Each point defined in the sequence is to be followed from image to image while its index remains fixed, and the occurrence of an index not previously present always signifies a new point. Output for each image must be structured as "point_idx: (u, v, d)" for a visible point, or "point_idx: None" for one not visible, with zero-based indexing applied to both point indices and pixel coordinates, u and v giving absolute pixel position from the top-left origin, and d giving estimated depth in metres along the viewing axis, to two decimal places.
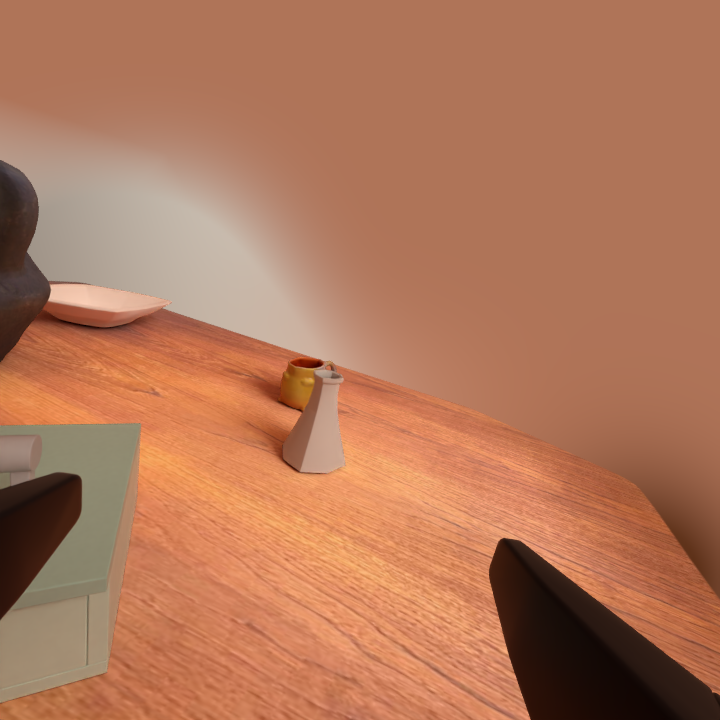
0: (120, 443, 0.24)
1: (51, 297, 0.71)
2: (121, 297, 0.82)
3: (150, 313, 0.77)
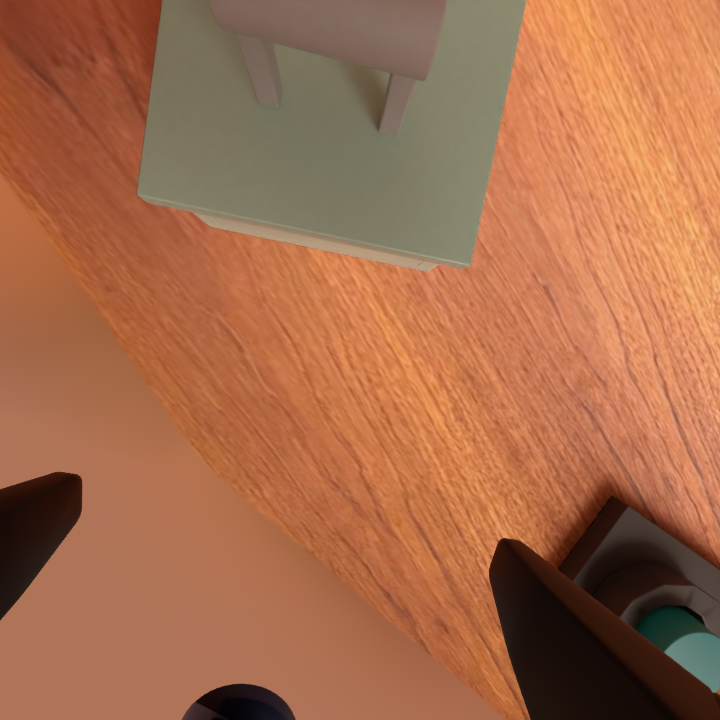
0: None
1: None
2: None
3: None
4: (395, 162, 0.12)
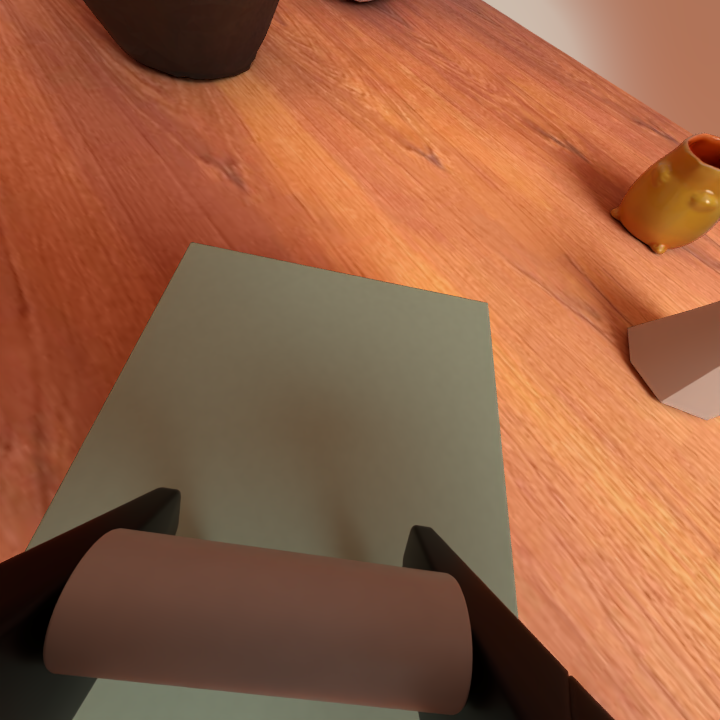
0: (468, 364, 0.12)
1: None
2: None
3: None
4: None
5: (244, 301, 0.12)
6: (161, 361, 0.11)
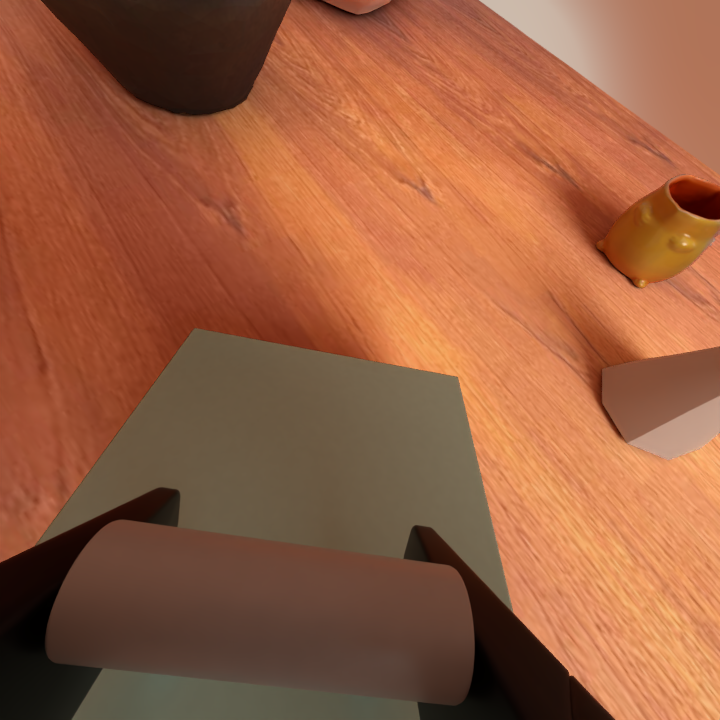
0: (446, 426, 0.13)
1: None
2: None
3: None
4: None
5: (239, 374, 0.13)
6: (158, 424, 0.11)
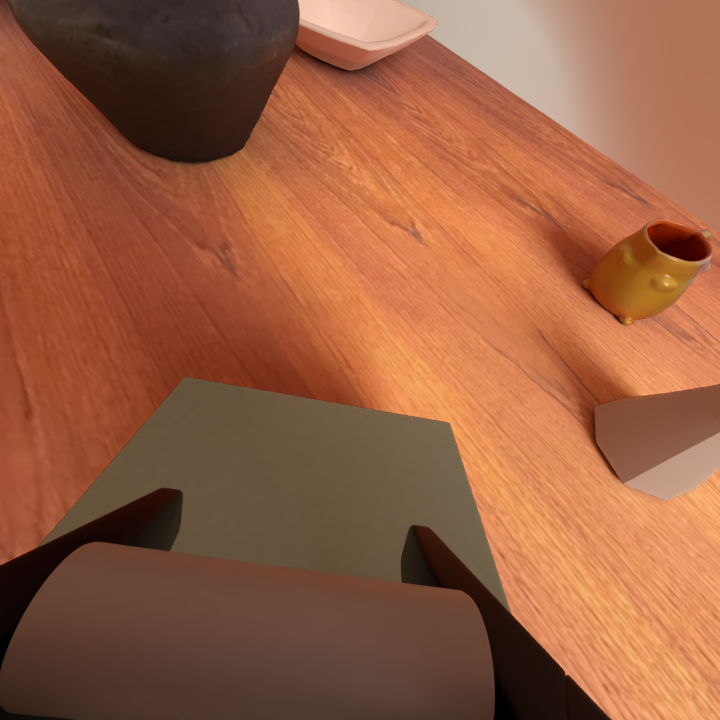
0: (442, 471, 0.13)
1: None
2: (370, 5, 0.54)
3: (406, 46, 0.51)
4: None
5: (229, 420, 0.13)
6: (140, 470, 0.10)
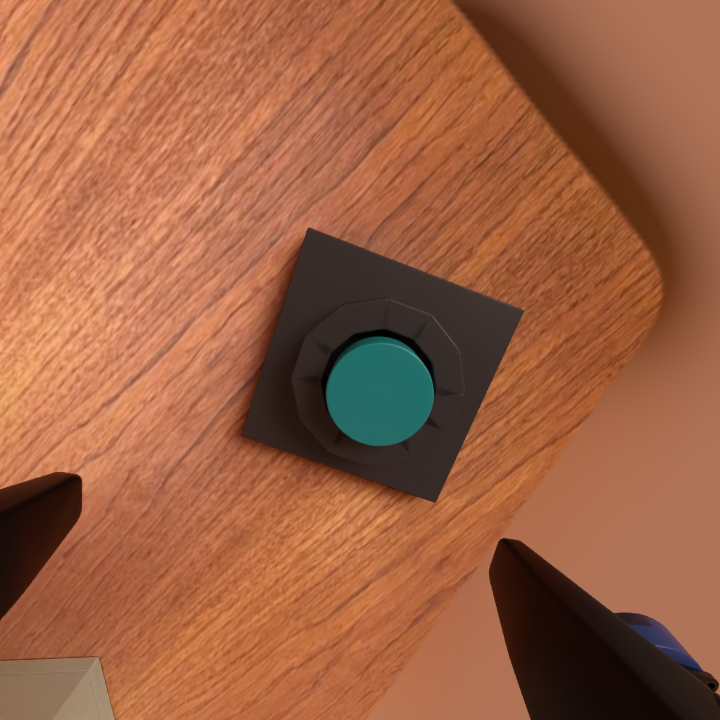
0: None
1: None
2: None
3: None
4: None
5: None
6: None
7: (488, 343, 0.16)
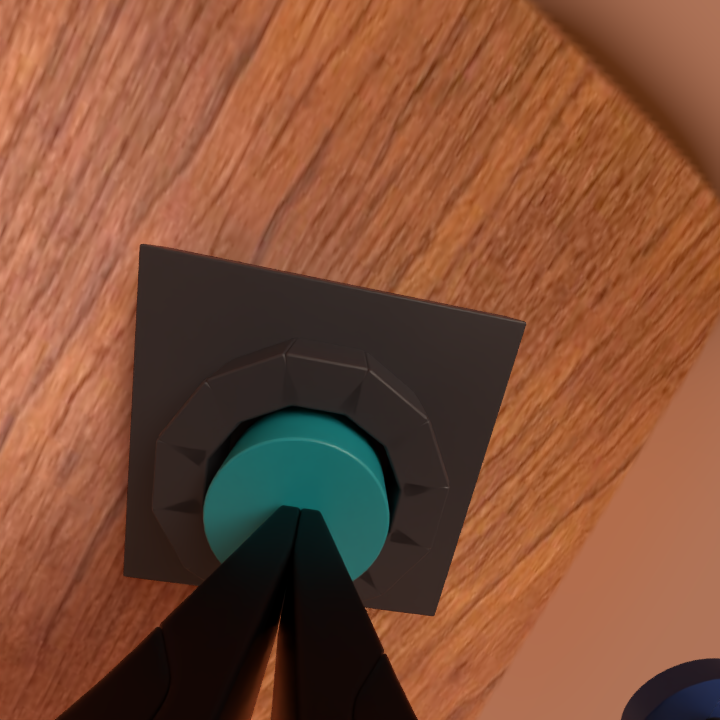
0: None
1: None
2: None
3: None
4: None
5: None
6: None
7: (476, 382, 0.10)
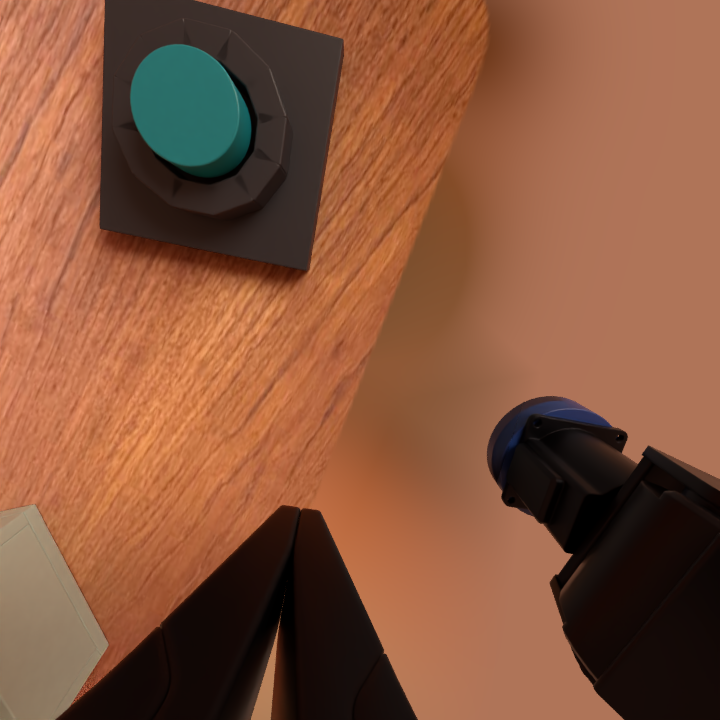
0: None
1: None
2: None
3: None
4: None
5: None
6: None
7: (316, 82, 0.16)
